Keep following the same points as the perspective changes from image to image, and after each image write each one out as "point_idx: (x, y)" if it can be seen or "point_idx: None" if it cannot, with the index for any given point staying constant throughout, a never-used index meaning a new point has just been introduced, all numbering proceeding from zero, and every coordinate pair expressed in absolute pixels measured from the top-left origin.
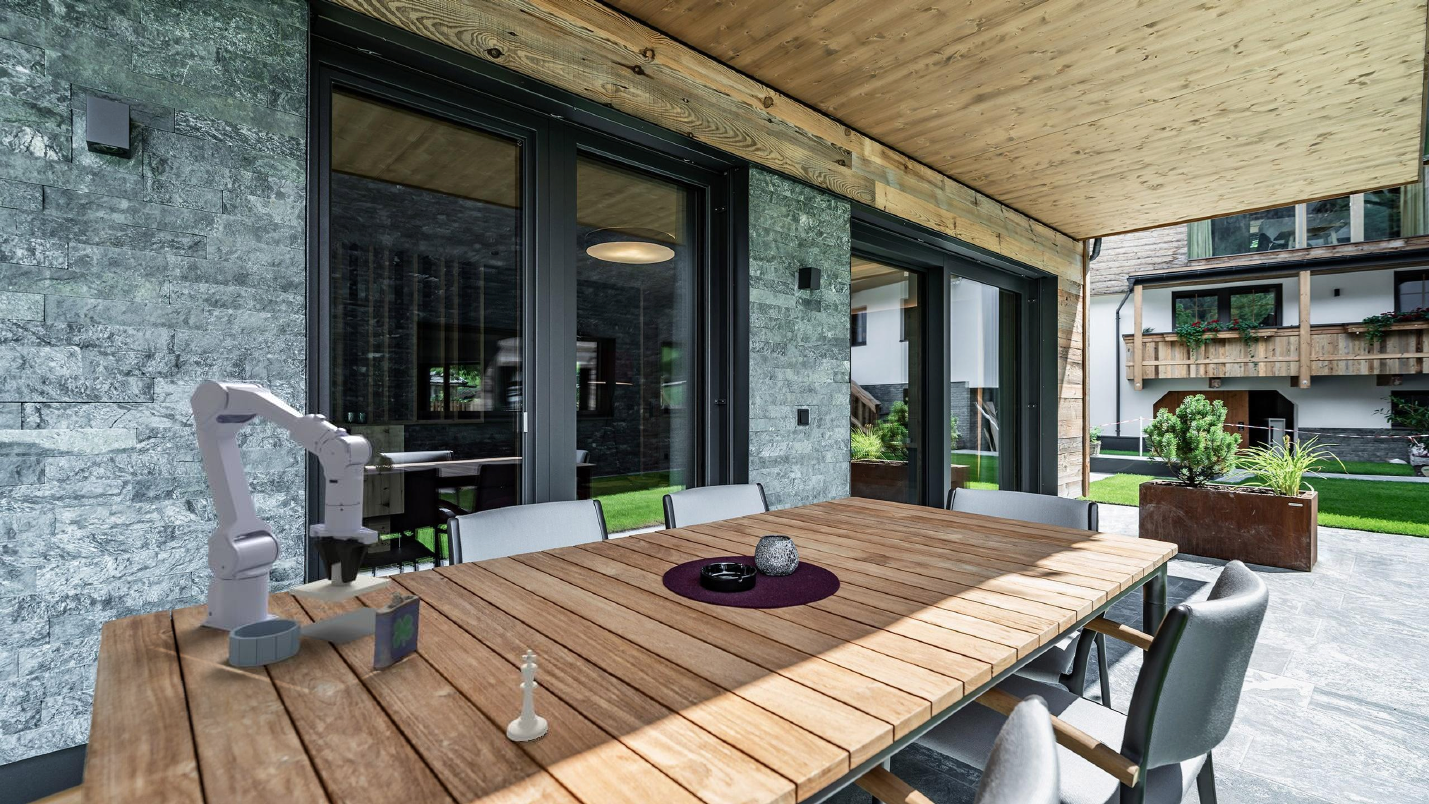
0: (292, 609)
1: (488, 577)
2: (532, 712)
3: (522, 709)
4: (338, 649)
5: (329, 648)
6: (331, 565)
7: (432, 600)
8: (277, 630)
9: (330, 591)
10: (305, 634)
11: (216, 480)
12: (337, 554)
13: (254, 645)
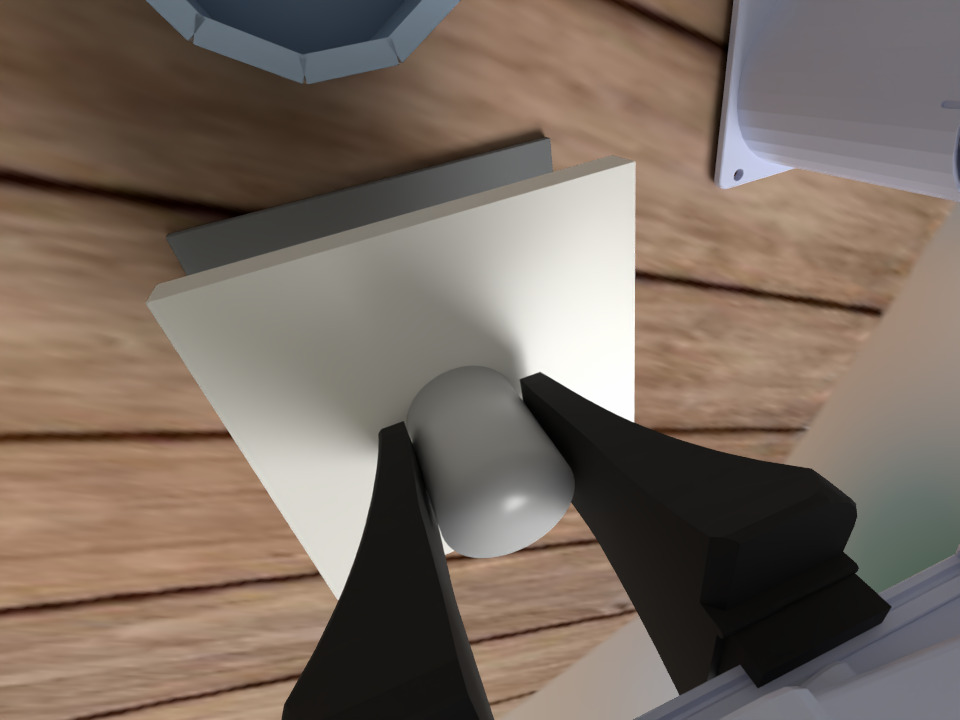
0: (761, 261)
1: (534, 678)
2: None
3: None
4: (142, 206)
5: (191, 183)
6: (572, 448)
7: (475, 569)
8: (410, 2)
9: (334, 323)
10: (445, 175)
11: None
12: (618, 537)
13: None
